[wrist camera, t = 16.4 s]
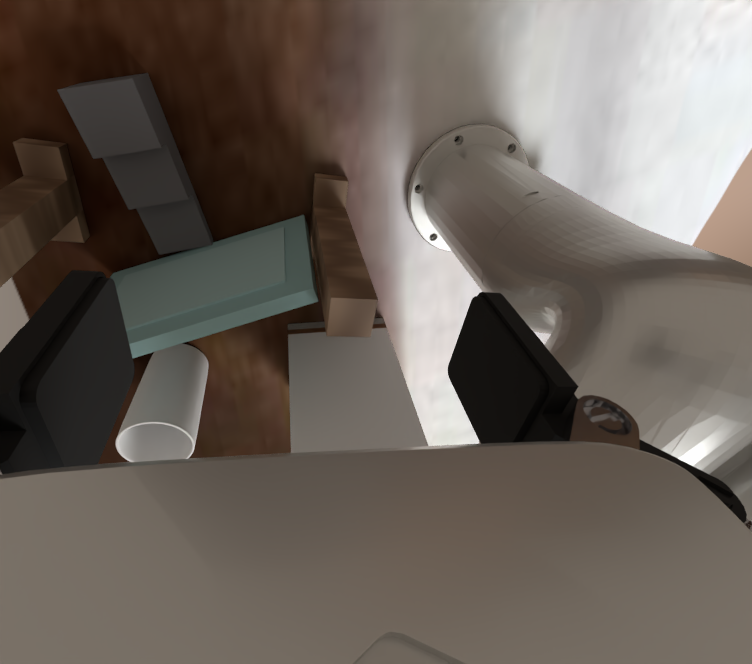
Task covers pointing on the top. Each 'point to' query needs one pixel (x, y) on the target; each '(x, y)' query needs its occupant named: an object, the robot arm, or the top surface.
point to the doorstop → (140, 157)
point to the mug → (165, 407)
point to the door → (217, 286)
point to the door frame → (68, 223)
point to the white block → (348, 392)
